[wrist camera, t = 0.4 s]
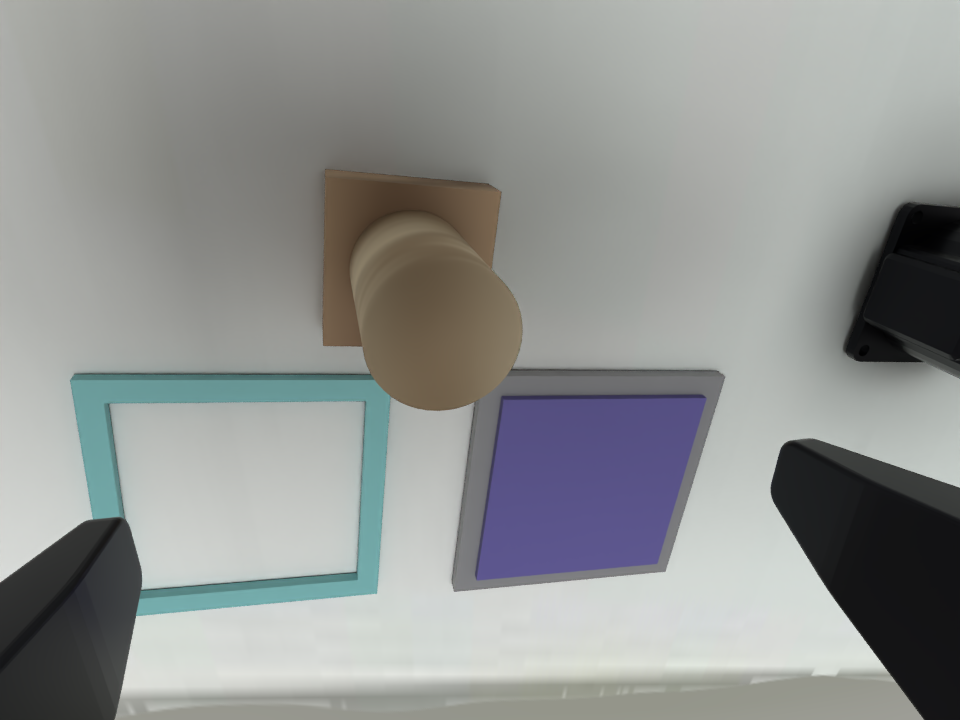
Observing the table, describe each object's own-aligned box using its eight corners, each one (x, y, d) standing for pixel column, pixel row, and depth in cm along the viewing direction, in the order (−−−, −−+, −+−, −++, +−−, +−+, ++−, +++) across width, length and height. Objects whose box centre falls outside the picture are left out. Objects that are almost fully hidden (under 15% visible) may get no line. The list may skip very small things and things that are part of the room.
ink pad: (717, 370, 25) (729, 379, 24) (659, 563, 29) (668, 576, 28) (479, 370, 22) (484, 379, 21) (451, 583, 26) (455, 597, 25)
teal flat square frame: (389, 374, 21) (391, 379, 21) (376, 586, 25) (376, 593, 25) (74, 374, 19) (70, 380, 18) (112, 610, 22) (109, 618, 22)
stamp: (487, 183, 19) (568, 234, 13) (469, 330, 21) (533, 433, 15) (325, 169, 18) (331, 218, 12) (322, 327, 20) (326, 439, 14)
